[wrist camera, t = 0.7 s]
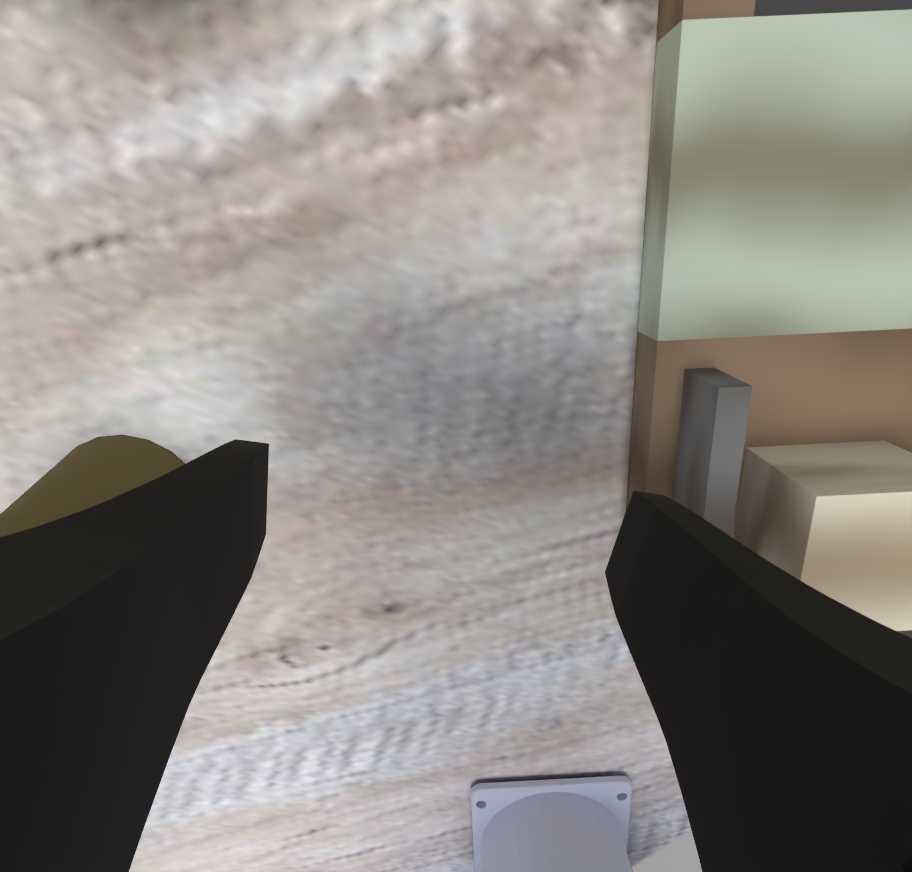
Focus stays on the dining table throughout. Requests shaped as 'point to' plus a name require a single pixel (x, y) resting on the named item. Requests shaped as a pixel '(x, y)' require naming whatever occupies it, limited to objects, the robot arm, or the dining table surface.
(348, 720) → the dining table surface
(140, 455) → the cork
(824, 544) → the birch block
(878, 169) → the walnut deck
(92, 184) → the dining table surface
